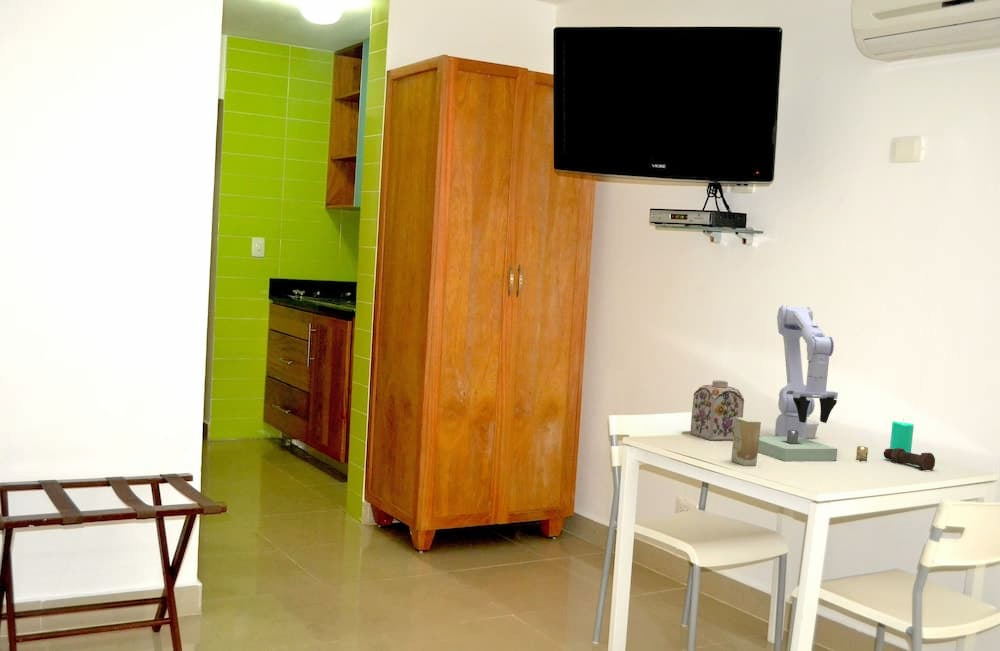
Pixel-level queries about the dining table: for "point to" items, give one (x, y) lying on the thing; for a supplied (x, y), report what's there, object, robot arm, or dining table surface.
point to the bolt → (911, 458)
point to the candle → (901, 436)
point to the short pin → (862, 453)
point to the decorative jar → (716, 411)
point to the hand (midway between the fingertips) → (812, 422)
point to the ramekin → (811, 429)
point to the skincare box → (746, 441)
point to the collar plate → (796, 449)
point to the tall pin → (792, 437)
